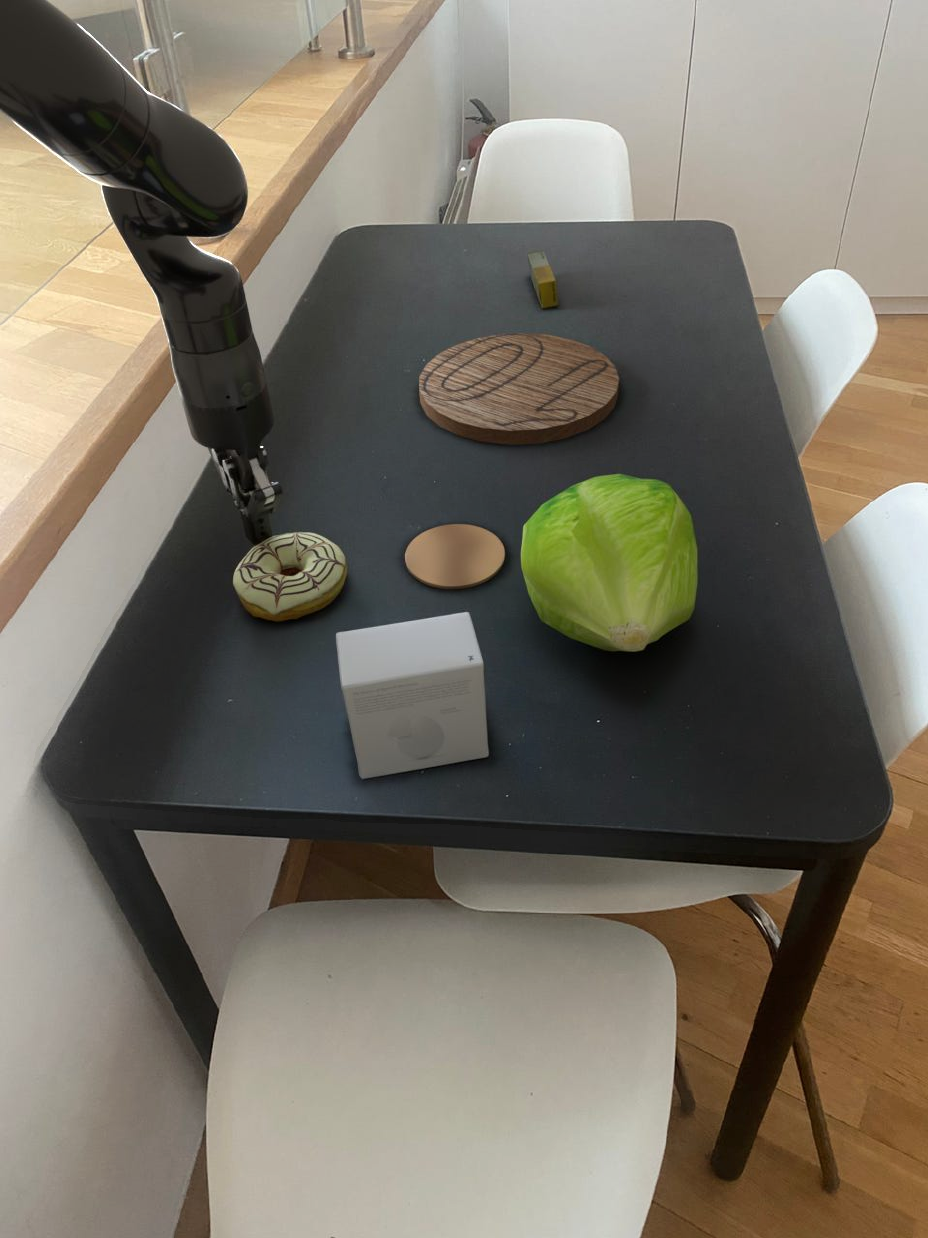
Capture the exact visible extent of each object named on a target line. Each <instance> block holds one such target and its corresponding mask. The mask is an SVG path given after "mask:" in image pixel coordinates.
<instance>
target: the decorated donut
mask: <svg viewBox="0 0 928 1238" xmlns="http://www.w3.org/2000/svg"><path fill="white" fill-rule="evenodd" d="M347 574H348V564H347V560H346V556H345V554H344V552H343V551H342V550H341V548H340V547H339V546H338V544H335V543H334V542H332V541H331V540H329V539H328V538H326V537H324V536H323V535H320V534H317V533H314V532H302V531H295V532H286V533H283V534H278V535H272V537H270V538H268V539H266V540H265V541H263V542H262V543H260V544H258V545H254V546H253V547H252V548H251V549H250V550H249V551H248V552H247V553H246V555H245V556H244V557H243V558H242V559H241V561H240V562H239V563H238V565H237V567H236V568H235V570H234V573H233V577H232V586H233V587H234V589H235V591H236V594H237V596H238V598H239V600H240V603H241V604H242V605H243V607H244V609H245V610H246V611H247V612H249V613H250V615H251V616H252V617H254V618H260V619H263V620H267V621H273V622H283V621H288V620H297V619H299V618H301V617H304V616H307V615H309V614H313V613H315V612H317V611H320V610H322V609H324V608H325V607H327V606H328V605H330V604H331V603H332V602H333V601H334V600H335V599H336V598H337V596H339V594H340V593H341V591H342V589H343V587H344V585H345V582H346V581H345V580H346V578H347Z"/></svg>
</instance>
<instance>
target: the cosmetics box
mask: <svg viewBox="0 0 928 1238" xmlns="http://www.w3.org/2000/svg"><path fill="white" fill-rule="evenodd" d="M335 644H336V652H337V661H338V670H339V671H338V672H339V680H340V687H341V691H342V695H343V700H344V704H345V709H346V714H347V718H348V723H349V728H350V733H351V739H352V743H353V748H354V753H355V757H356V761H357V769H358V770H357V771H358V776H359V778H361V780H364V779H365V780H366V779H371V778H377V777H382V776H388V775H394V774H399V773H405V772H410V771H416V770H422V769H427V768H432V767H433V768H434V767H438V766H446V765H450V764H455V763H461V762H467V761H472V760H478V759H485V758H488V757H489V755H490V754H489V753H490V752H489V743H488V741H489V740H488V739H489V738H488V725H487V723H488V722H487V705H486V688H485V687H486V686H485V674H484V671H485V670H484V669H485V668H484V660H483V657H482V652H481V649H480V645H479V642H478V639H477V634H476V631H475V628H474V623H473V620H472V617H471V614H470V612H468V611H464V612H458V613H451V614H446V615H439V616H434V617H428V618H422V619H414V620H409V621H404V622H403V621H402V622H396V623H390V624H389V623H388V624H384V625H377V626H372V627H371V626H369V627H365V628H359V629H352V630H347V631H338V632H336V634H335Z"/></svg>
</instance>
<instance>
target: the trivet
mask: <svg viewBox="0 0 928 1238" xmlns="http://www.w3.org/2000/svg"><path fill="white" fill-rule="evenodd" d="M418 379H419V380H418V383H419V384H418V386H419V387H418V388H419V389H418V392H419V403H420V405H421V407H422V409H423V411H424V413H425V415H426V416H427V417H428V418H429V419H430V420H432V422H434V423H435V424H436V425H437V426H439V427H440V428H442V429H444V430H446V431H448V432H450V433H452V434H454V435H456V436H459V437H462V438H466V439H469V440H473V441H478V442H481V443H487V444H496V445H499V444H500V445H507V446H517V445H535V444H537V445H538V444H544V443H549V442H555V441H559V440H564V439H568V438H570V437H573V436H576V435H578V434H581V433H583V432H587V431H589V430H590V429H592V428H593V427H595V426H597V425H598V424H599V423H601V422H603V421H604V420H605V419H606V418H607V417H608V416H609V414H610V413H611V412H612V411H613V410H614V408H615V406H616V404H617V400H618V395H619V388H620V377H619V374H618V371H617V368H616V366H615V365H614V363H613V362H611V360H610V359H609V358H608V357H607V356H606V355H605V354H603V353H602V352H600V351H598V350H597V349H595V348H594V347H591V345H588V344H585V343H582V342H579V341H578V340H577V341H576V340H575V339H571V338H566V337H560V336H557V335H551V334H544V333H543V334H541V333H528V332H520V333H500V334H495V335H489V336H482V337H478V338H477V337H476V338H473V339H471V340H467V341H464V342H460V343H457V344H456V345H453V346H451V347H449V348H447V349H446V350H444V351H441V352H440V353H438V354H437V355H436V356H434V358H432V359H430V361H428V363H426V365H425V366H424V368H423V369H422V372H421V373H420V375H419V378H418Z"/></svg>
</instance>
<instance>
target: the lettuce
mask: <svg viewBox="0 0 928 1238" xmlns="http://www.w3.org/2000/svg"><path fill="white" fill-rule="evenodd" d="M520 566H521V567H520V568H521V571H522V574H523V579H524V582H525V586H526V589H527V593H528V597H529V598H530V600H531V602H532V605H533V607H534V609H535V611H536V613H537V615H538V617H539V620H540V621H541V622H542V623H543V624H546V625H548V626H549V627H551V629H555V631H557V632H559V633H560V634H563V635H564V636H565V637H567V638H569V639H571V640H574V641H577V642H580V643H583V644H586V645H589V646H592V647H594V648H597V649H600V650H602V651H608V652H633V653H635V652H640V651H644V650H645V649H646V646H647V645H648V644H652V643H654V642H657V641H658V640H659V639H660V638H662V637H663V636H664V635H666V634H667V633H669V632H670V631H672V630H674V629H675V628H677V627H678V626H680V625H682V624H684V623H685V622H687V621H688V620H690V618H691V616H692V615H693V612H694V609H695V604H696V597H697V590H698V589H697V588H698V580H699V579H698V546H697V541H696V534H695V530H694V524H693V519H692V514H691V513H690V511H689V509H688V508H687V506H686V505H685V502H684V501H683V500H682V499H681V497H679V495H678V494H677V493H676V491H675V490H674V489H673V488H672V486H671V485H670V484H669V483H667V482H664V481H663V480H660V479H657V478H640V477H639V478H638V477H634V476H631V475H626V474H623V473H616V474H606V475H598V476H594V477H591V478H588V479H586V480H584V481H581V482H578V483H576V484H573V485H572V486H571V485H570V487H568V488H566V489H565V490H563V491H561V492H560V493H558V494H556V495H555V496H553V497H551V498H550V499H549V500H547V501H545V502H544V503H543V504H541V505H540V506H539V508H537V510H536V511H535V512H534V513H533V514H532V515H531V517H530V518H528V520H527V521H526V522H525V523H524V524H523V527H522V539H521V549H520Z"/></svg>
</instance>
